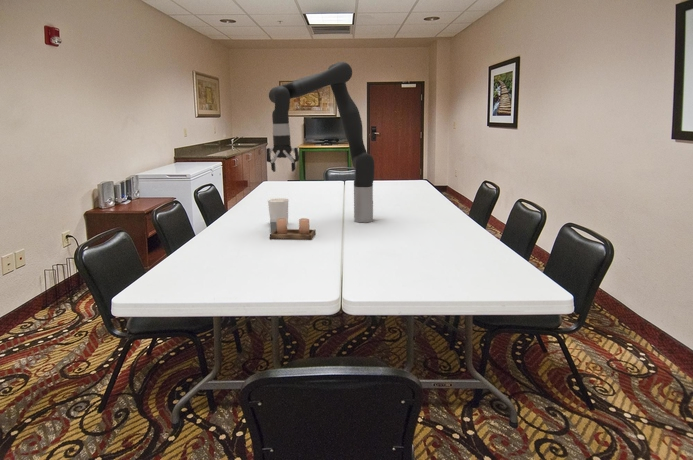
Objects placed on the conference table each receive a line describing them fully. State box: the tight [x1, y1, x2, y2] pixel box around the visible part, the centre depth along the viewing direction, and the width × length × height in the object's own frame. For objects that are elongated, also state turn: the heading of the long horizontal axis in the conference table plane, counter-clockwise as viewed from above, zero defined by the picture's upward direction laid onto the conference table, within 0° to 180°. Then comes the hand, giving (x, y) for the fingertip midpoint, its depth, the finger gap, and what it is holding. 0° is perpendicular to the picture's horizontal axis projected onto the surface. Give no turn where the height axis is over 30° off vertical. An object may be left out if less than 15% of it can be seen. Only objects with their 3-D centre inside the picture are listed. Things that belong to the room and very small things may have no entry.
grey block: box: [269, 219, 277, 234], centre depth 216 cm, size 5×5×5 cm
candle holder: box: [267, 197, 289, 225], centre depth 228 cm, size 10×10×12 cm
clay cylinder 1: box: [276, 218, 288, 234], centre depth 206 cm, size 4×4×7 cm
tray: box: [269, 228, 317, 241], centre depth 206 cm, size 18×10×2 cm, turn 83°
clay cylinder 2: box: [298, 217, 310, 235], centre depth 205 cm, size 4×4×7 cm
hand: (283, 171), depth 211 cm, fingers open, 8 cm apart
